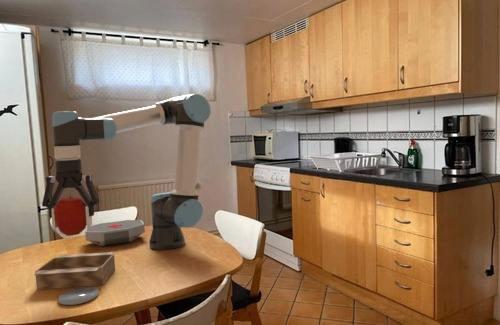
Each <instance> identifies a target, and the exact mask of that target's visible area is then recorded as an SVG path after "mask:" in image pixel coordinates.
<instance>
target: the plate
mask: <svg viewBox="0 0 500 325" xmlns="http://www.w3.org/2000/svg"><path fill="white" fill-rule="evenodd" d="M97 296H99V289H98V288H97V287H95V286H81V287H75V288H73V289H70V290H67V291H65V292H63V293H61V294H60V295H59V296H58V299H57V300H58V303H59V304H60V305H63V306H74V305H81V304H84V303H87V302H89V301H92V300H93V299H95V298H96V297H97Z"/></svg>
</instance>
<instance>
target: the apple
mask: <svg viewBox="0 0 500 325" xmlns="http://www.w3.org/2000/svg"><path fill="white" fill-rule="evenodd" d="M87 206H88V205H87V204H86V202H85V201H84V199H83V198H82V197H80V196H79V197H78V196H72V195H71V194H69V196H65V197H62V198H59V199H58V201H57V203H56V205H55V209H54V216H55V221H56V224H57V226H58V227H57V228H58V230H59V232H60V233H61V234H63V235H65V236H67V237H69V236H70V237H71V236H77V235H80V234H81V233H82V232H83V231H84V230H85V228H86V227H87V224H86V209H85V207H87Z"/></svg>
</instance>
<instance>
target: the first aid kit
mask: <svg viewBox="0 0 500 325" xmlns="http://www.w3.org/2000/svg"><path fill="white" fill-rule="evenodd" d="M84 230H85V232H84V234H85V241H87V242H90V243H92V244H95V245H97V246H99V247H104V246H109V245H110V246H111V245H117V244H124V243H132V242H133V241H135V240H136V239H137V238H139V237H140V236H142V235H143V234H144V233H145V232H146V230H145V223H144V221H143V220H142V219H125V220H118V221H117V220H115V221H109V222H108V221H107V222H101V223H97V224H92V225H91V226H90V227H87V226H86V228H85V229H84Z"/></svg>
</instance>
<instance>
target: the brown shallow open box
mask: <svg viewBox="0 0 500 325" xmlns="http://www.w3.org/2000/svg"><path fill="white" fill-rule="evenodd" d="M115 261H116V260H115V253H114V251H113V252H112V251H111V252H109V251H108V252H95V253H78V254H77V253H74V254H62V255H61V254H60V255H58V256H55V257H53V258H51V259H50V260H49V261H47V262H46V263H44V264H43V265H42V266H40V267H39V268H37V269H36V270H35V272H34V274H33V275H34V276H35V284H36V286H35V287H36V290H50V289H60V288H61V289H64V288H80V287H95V286H104V285H105V284H106V283H107V281H109V279H110V278H111V276H113V274H114V273H115V271H116V262H115Z"/></svg>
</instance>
